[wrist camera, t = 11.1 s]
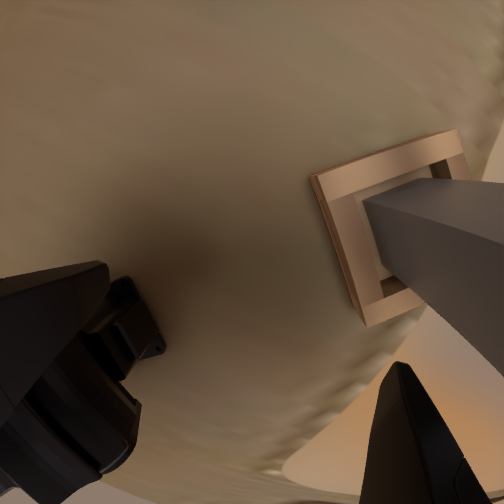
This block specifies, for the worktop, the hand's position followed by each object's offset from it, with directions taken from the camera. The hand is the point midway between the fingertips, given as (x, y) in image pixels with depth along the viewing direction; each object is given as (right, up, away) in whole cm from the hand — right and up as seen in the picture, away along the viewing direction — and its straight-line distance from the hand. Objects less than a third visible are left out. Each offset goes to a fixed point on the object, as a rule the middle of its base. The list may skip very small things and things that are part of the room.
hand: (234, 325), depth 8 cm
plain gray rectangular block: (+10, +4, +10) cm, 15 cm away
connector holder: (+10, +4, +11) cm, 16 cm away
